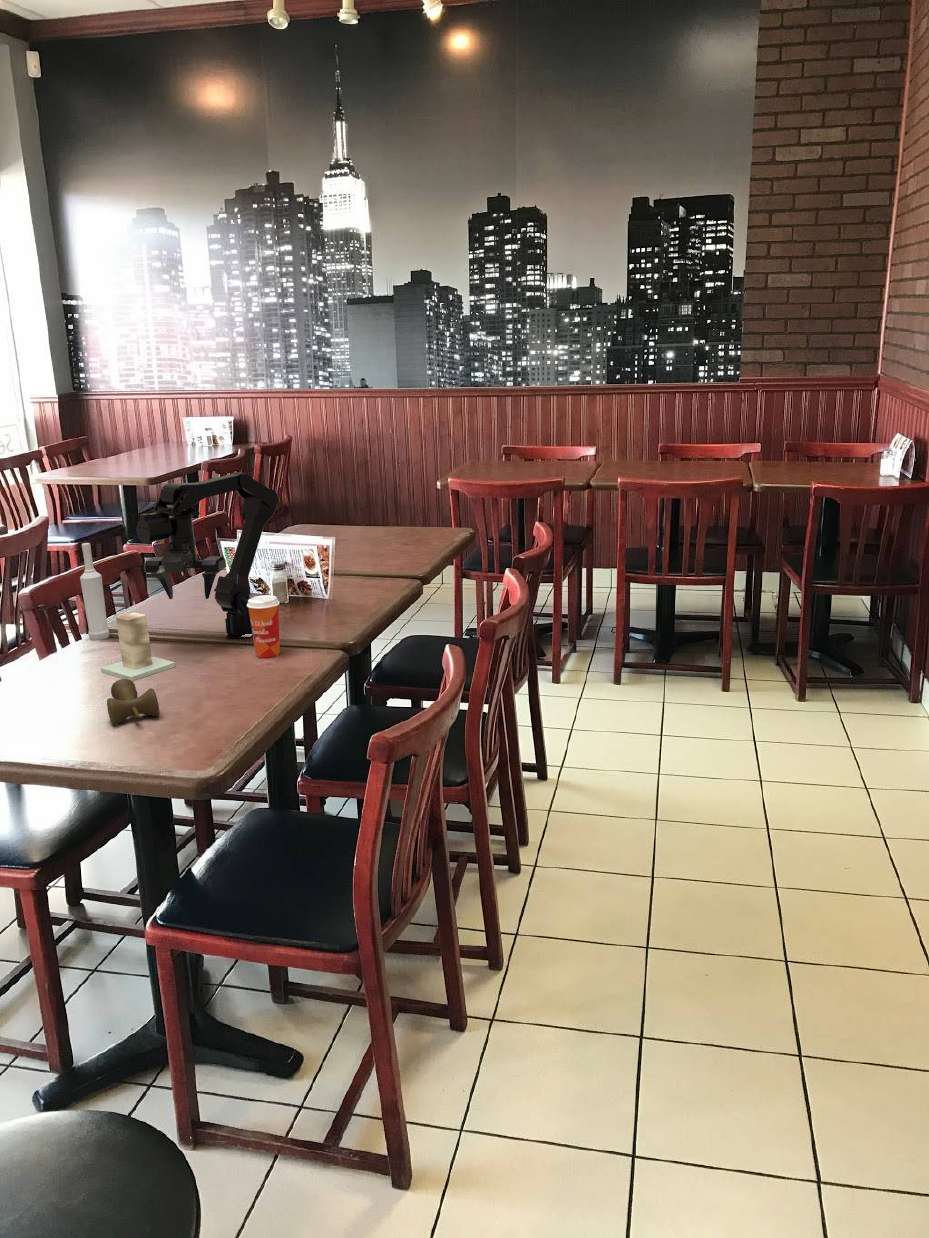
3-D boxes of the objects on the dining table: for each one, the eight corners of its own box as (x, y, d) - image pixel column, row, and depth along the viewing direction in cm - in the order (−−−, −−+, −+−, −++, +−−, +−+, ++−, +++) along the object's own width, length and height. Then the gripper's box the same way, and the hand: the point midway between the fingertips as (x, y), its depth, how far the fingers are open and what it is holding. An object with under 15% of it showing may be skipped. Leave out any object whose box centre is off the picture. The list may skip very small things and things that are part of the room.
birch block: (140, 660, 237) (133, 612, 234) (152, 664, 235) (146, 615, 231) (122, 666, 234) (115, 617, 230) (135, 669, 231) (128, 620, 228)
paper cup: (245, 658, 240) (239, 601, 236) (263, 648, 246) (257, 593, 242) (273, 660, 237) (268, 604, 233) (290, 651, 243) (285, 595, 240)
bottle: (114, 635, 262) (101, 542, 255) (99, 641, 258) (85, 546, 251) (99, 633, 264) (85, 541, 257) (84, 639, 260) (70, 545, 253)
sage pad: (145, 658, 243) (144, 654, 242) (175, 666, 235) (175, 662, 235) (101, 672, 234) (100, 667, 233) (131, 681, 226) (131, 677, 226)
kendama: (148, 697, 218) (165, 724, 200) (102, 707, 214) (115, 736, 196) (143, 671, 216) (160, 696, 199) (97, 681, 212) (110, 707, 195)
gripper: (130, 543, 233) (138, 607, 238) (206, 542, 231) (214, 607, 235) (150, 534, 244) (158, 595, 248) (223, 533, 242) (230, 595, 246)
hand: (189, 598), depth 244 cm, fingers open, 9 cm apart
